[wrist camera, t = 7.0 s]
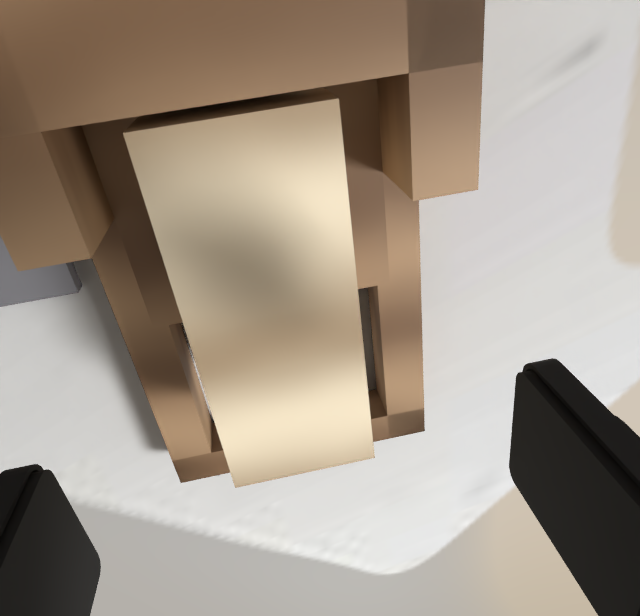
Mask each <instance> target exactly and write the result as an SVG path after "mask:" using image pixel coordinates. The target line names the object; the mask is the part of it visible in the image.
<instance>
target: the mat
mask: <svg viewBox="0 0 640 616" xmlns="http://www.w3.org/2000/svg"><path fill="white" fill-rule="evenodd" d="M81 287H82V284H81V282H80V279H79V277H78V275H77V272H76V270H75V268H74V265H73V263H72V262H69V263H63V264H58V265H52V266H46V267H41V268H35V269H29V270H24V271H18V270H17V268H16V266H15V264H14V262H13V260H12V258H11V256H10V254H9V252H8V250H7V248H6V246H5V244H4V242H3V240H2V238H1V236H0V307H2V306H7V305H13V304H18V303H24V302H29V301H35V300H40V299H46V298H51V297H57V296H62V295H68V294H73V293H78V292H79V290H80V289H81Z"/></svg>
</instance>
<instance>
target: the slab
mask: <svg viewBox="0 0 640 616" xmlns="http://www.w3.org/2000/svg"><path fill="white" fill-rule="evenodd" d="M123 135H124V138H125V142H126V145H127V148H128V151H129V154H130V157H131V161H132V164H133V167H134V170H135V173H136V176H137V179H138V183H139V186H140V189H141V192H142V195H143V198H144V202H145V205H146V208H147V211H148V214H149V217H150V220H151V224H152V227H153V230H154V233H155V236H156V239H157V243H158V246H159V249H160V252H161V255H162V258H163V261H164V265H165V268H166V271H167V274H168V277H169V280H170V284H171V287H172V290H173V293H174V296H175V299H176V303H177V306H178V309H179V312H180V315H181V318H182V321H183V325H184V328H185V331H186V334H187V337H188V340H189V344H190V347H191V350H192V353H193V356H194V359H195V362H196V366H197V369H198V372H199V375H200V378H201V381H202V385H203V388H204V391H205V394H206V397H207V400H208V403H209V407H210V410H211V413H212V416H213V419H214V422H215V426H216V429H217V432H218V435H219V438H220V441H221V444H222V448H223V451H224V454H225V457H226V460H227V463H228V467H229V470H230V473H231V476H232V479H233V482H234V485H235V488H237V487H241V486H246V485H251V484H255V483H260V482H265V481H269V480H274V479H278V478H283V477H288V476H292V475H297V474H302V473H306V472H311V471H316V470H320V469H325V468H330V467H334V466H339V465H343V464H348V463H353V462H357V461H362V460H367V459H371V458H375V456H374V446H373V436H372V426H371V416H370V406H369V396H368V386H367V376H366V366H365V356H364V346H363V336H362V326H361V316H360V306H359V296H358V286H357V275H356V265H355V255H354V245H353V235H352V225H351V215H350V205H349V195H348V185H347V175H346V165H345V155H344V145H343V135H342V125H341V115H340V105H339V98H338V97H336V96H335V95H333V94H332V93H330V92H329V91H327V90H326V89H324V88H323V87H319V88H313V89H307V90H300V91H294V92H288V93H282V94H275V95H269V96H263V97H256V98H250V99H244V100H237V101H231V102H225V103H219V104H212V105H206V106H200V107H193V108H187V109H181V110H174V111H168V112H162V113H156V114H149V115H143V116H139V117H138V118H137V119H136V120H135V121H134V122H133V123H132V124H131V125H130V126H129V127H128V128H127V129H126V130H125V131H124V132H123Z"/></svg>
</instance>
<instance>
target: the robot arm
mask: <svg viewBox="0 0 640 616" xmlns="http://www.w3.org/2000/svg"><path fill="white" fill-rule="evenodd" d="M509 468H510V473H511V476H512V479H513V481H514V483H515V485H516V486H517V488H518V489H519V491H520V493H521V494H522V496H523V497H524V499H525V501H526V502H527V504H528V505H529V507H530V508H531V510H532V511H533V513H534V515H535V516H536V518H537V519H538V521H539V522H540V524H541V526H542V527H543V529H544V531H545V532H546V534H547V535H548V537H549V538H550V540H551V542H552V543H553V545H554V546H555V548H556V549H557V551H558V552H559V554H560V556H561V557H562V559H563V561H564V562H565V564H566V565H567V567H568V568H569V570H570V571H571V573H572V575H573V576H574V578H575V579H576V581H577V583H578V584H579V586H580V587H581V589H582V590H583V592H584V594H585V595H586V597H587V598H588V600H589V601H590V603H591V605H592V606H593V608H594V609H595V611H596V613H597V614H598V616H640V437H639V436H638V435H637V434H636V433H635V432H634V431H632V429H631V428H630V427H629V426H628V425H627V424H625V422H623V421H622V420H621V419H619V418H618V417H617V416H614V415H613V414H612V413H611V412H610V411H609V410H608V409H607V408H606V407H605V406H604V405H603V404H602V403H601V402H600V401H599V400H598V399H597V398H596V397H595V396H594V395H593V394H592V393H591V392H590V391H589V390H588V389H587V388H586V387H585V386H584V385H583V384H582V383H581V382H580V381H579V380H578V379H577V378H576V377H575V376H574V375H573V374H572V373H571V372H570V371H569V370H568V369H567V368H566V367H565V366H564V365H563V364H562V363H561V362H559V361H558V360H557V359H548V360H543V361H538V362H533V363H528V364H526V365H525V366H524V368H523V372H520V373H518V374H517V376H516V385H515V398H514V410H513V423H512V436H511V449H510V461H509ZM100 568H101V566H100V559H99V556H98V553H97V552H96V550H95V548H94V546H93V544H92V543H91V541H90V539H89V537H88V535H87V534H86V532H85V530H84V528H83V526H82V525H81V523H80V521H79V519H78V517H77V516H76V514H75V512H74V510H73V508H72V507H71V505H70V503H69V501H68V499H67V498H66V496H65V494H64V492H63V490H62V489H61V487H60V485H59V483H58V481H57V480H56V478H55V476H54V474H53V473H52V471H50V470H43V468H42V467H41V466H40V465H38V464H34V465H29V466H24V467H19V468H14V469H9V470H5V471H3V472H2V473H1V474H0V616H90V613H91V609H92V604H93V601H94V597H95V593H96V588H97V584H98V581H99V577H100Z"/></svg>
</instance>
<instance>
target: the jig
mask: <svg viewBox="0 0 640 616" xmlns="http://www.w3.org/2000/svg"><path fill="white" fill-rule="evenodd" d="M484 14H485V0H0V236H1V238H2V240H3V242H4V244H5V246H6V248H7V250H8V252H9V254H10V256H11V258H12V260H13V262H14V264H15V266H16V268H17V270H18V271H24V270H29V269H35V268H41V267H46V266H52V265H58V264H63V263H69V262H74V261H80V260H86V259H91V258H92V260H93V262H94V265H95V267H96V270H97V272H98V275H99V277H100V280H101V282H102V285H103V288H104V290H105V293H106V295H107V298H108V300H109V303H110V305H111V308H112V310H113V313H114V315H115V318H116V320H117V323H118V325H119V328H120V330H121V333H122V335H123V338H124V340H125V343H126V346H127V348H128V351H129V353H130V356H131V358H132V361H133V363H134V366H135V368H136V371H137V373H138V376H139V378H140V381H141V383H142V386H143V388H144V391H145V393H146V396H147V398H148V401H149V403H150V406H151V409H152V411H153V414H154V416H155V419H156V421H157V424H158V426H159V429H160V431H161V434H162V436H163V439H164V441H165V444H166V446H167V449H168V451H169V454H170V456H171V459H172V461H173V464H174V466H175V469H176V472H177V474H178V477H179V479H180V482H181V483H183V482H187V481H192V480H197V479H201V478H206V477H211V476H216V475H220V474H225V473H230V470H229V467H228V463H227V460H226V457H225V454H224V451H223V448H222V444H221V441H220V438H219V435H218V432H217V429H216V426H215V423H212V420H211V417H210V414H209V411H208V408H207V404H206V401H205V398H204V395H203V392H202V389H201V386H200V383H199V379H198V376H197V373H196V370H195V367H194V364H193V361H192V358H191V355H190V351H189V348H188V345H187V342H186V339H185V336H184V333H183V330H182V326H181V323H182V322H183V321H182V318H181V315H180V312H179V309H178V306H177V303H176V299H175V296H174V293H173V290H172V287H171V284H170V280H169V277H168V274H167V271H166V268H165V265H164V261H163V258H162V255H161V252H160V249H159V246H158V243H157V239H156V236H155V233H154V230H153V227H152V224H151V220H150V217H149V214H148V211H147V208H146V205H145V202H144V198H143V195H142V192H141V189H140V186H139V183H138V179H137V176H136V173H135V170H134V167H133V164H132V161H131V157H130V154H129V151H128V148H127V145H126V142H125V138H124V135H123V132H124V131H125V130H126V129H127V128H128V127H129V126H130V125H131V124H132V123H133V122H134V121H135V120H136V119H137V118H138V117H139V116H143V115H149V114H156V113H162V112H168V111H174V110H181V109H187V108H193V107H200V106H206V105H212V104H219V103H225V102H231V101H237V100H244V99H250V98H256V97H263V96H269V95H275V94H282V93H288V92H294V91H300V90H307V89H313V88H319V87H323V88H324V89H326V90H327V91H329V92H330V93H332V94H333V95H335V96H336V97H338V98H339V105H340V115H341V125H342V135H343V145H344V155H345V165H346V175H347V185H348V195H349V205H350V215H351V225H352V235H353V245H354V255H355V265H356V275H357V286H358V289H361V288H367V287H368V296H369V308H370V319H371V331H372V342H373V353H374V365H375V376H376V387H377V389H376V390H371V391H368V396H369V406H370V416H371V426H372V436H373V442H375V441H380V440H384V439H389V438H394V437H399V436H403V435H408V434H413V433H417V432H422V431H425V429H424V390H423V351H422V313H421V274H420V235H419V200H422V199H428V198H434V197H439V196H445V195H450V194H456V193H462V192H467V191H473V190H478V177H479V150H480V123H481V95H482V68H483V41H484Z"/></svg>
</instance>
